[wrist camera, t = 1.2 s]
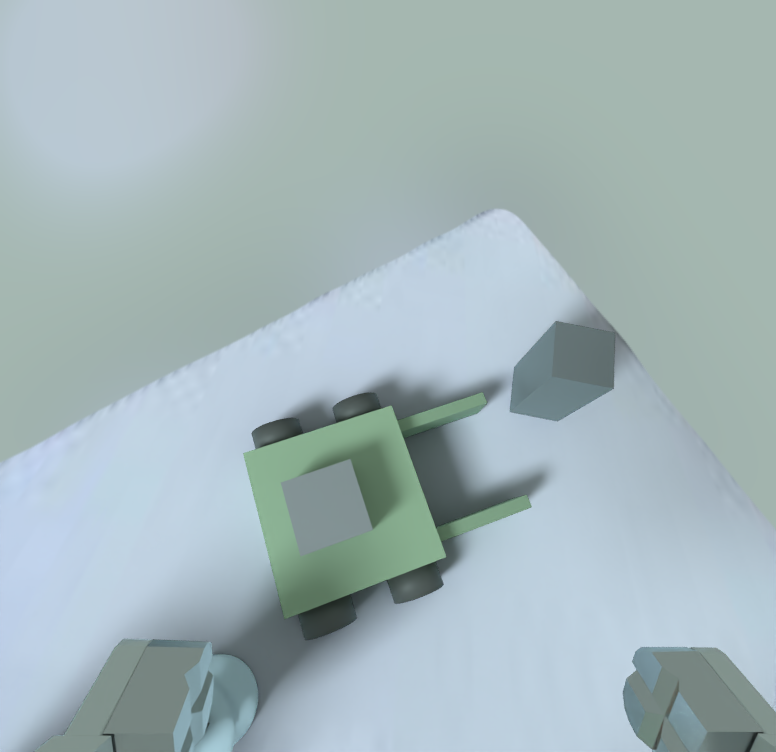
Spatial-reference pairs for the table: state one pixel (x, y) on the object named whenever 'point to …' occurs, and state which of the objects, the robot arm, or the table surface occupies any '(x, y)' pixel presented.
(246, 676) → the beer glass
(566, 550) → the table surface
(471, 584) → the table surface
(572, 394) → the tall gray column
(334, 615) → the green toy forklift
